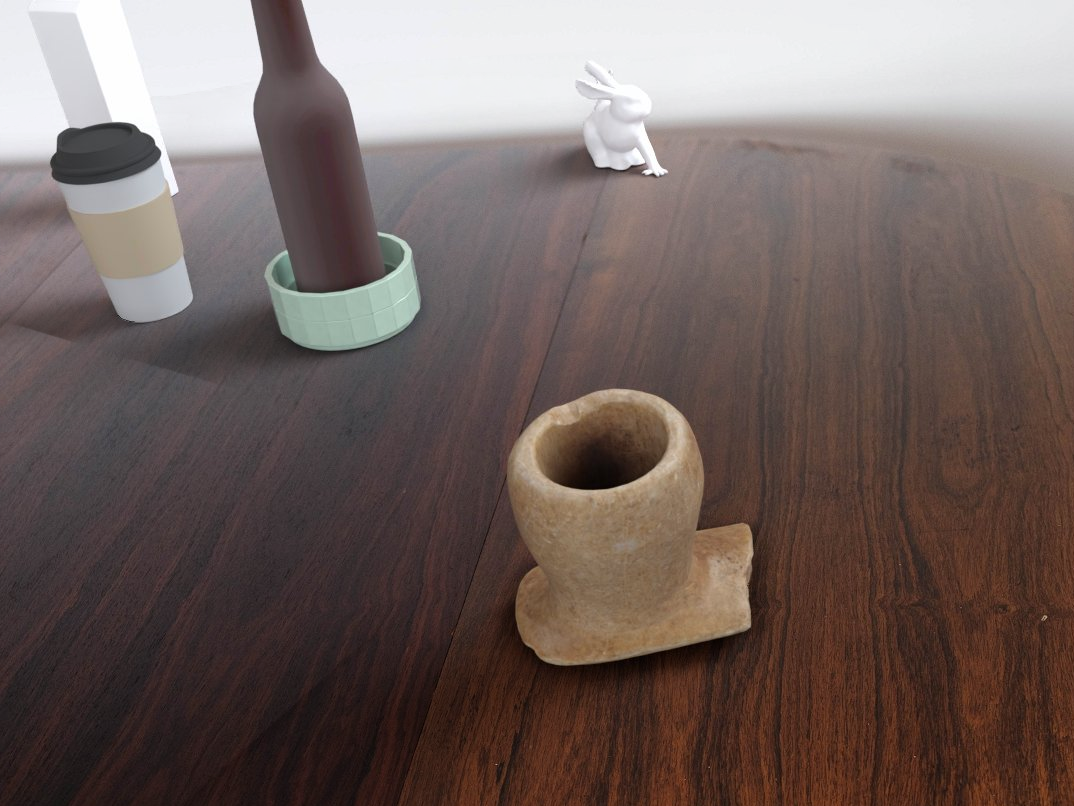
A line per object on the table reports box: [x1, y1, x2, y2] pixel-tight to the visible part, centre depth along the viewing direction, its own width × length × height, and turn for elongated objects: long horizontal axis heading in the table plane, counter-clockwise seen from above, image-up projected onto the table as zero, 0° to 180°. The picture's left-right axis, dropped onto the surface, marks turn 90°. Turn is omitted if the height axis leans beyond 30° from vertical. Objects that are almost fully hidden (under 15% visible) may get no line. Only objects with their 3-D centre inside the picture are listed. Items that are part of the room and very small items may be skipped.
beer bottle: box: [250, 0, 386, 293], centre depth 100 cm, size 8×8×30 cm
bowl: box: [263, 231, 422, 352], centre depth 109 cm, size 12×12×5 cm
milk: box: [27, 0, 180, 197], centre depth 127 cm, size 6×6×22 cm
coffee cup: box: [49, 122, 194, 323], centre depth 111 cm, size 9×9×15 cm
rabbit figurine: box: [575, 60, 669, 177], centre depth 128 cm, size 12×8×10 cm, turn 20°
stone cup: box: [506, 388, 754, 666], centre depth 73 cm, size 15×12×15 cm
